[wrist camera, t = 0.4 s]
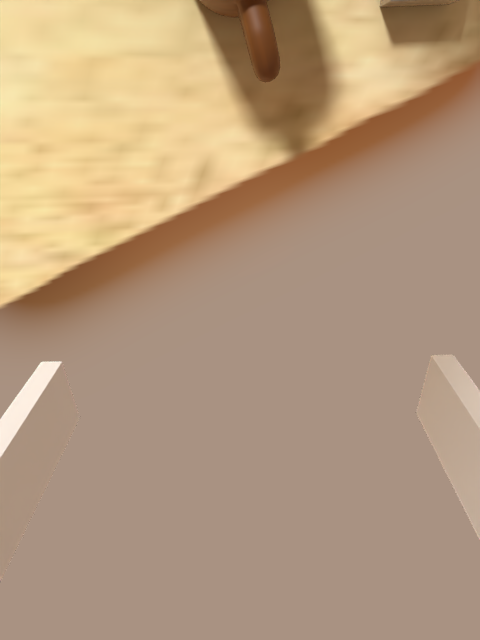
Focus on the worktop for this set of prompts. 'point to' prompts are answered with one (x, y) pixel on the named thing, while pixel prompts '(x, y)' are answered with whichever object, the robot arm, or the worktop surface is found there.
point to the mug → (253, 33)
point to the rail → (414, 2)
